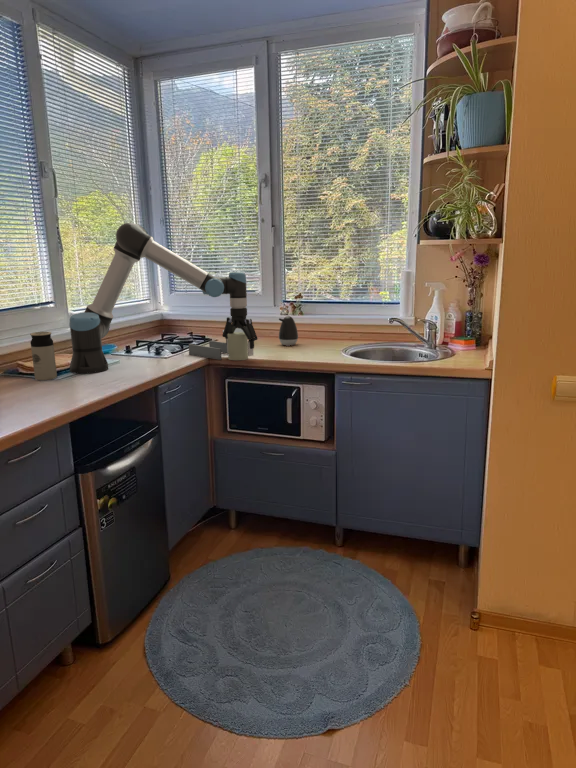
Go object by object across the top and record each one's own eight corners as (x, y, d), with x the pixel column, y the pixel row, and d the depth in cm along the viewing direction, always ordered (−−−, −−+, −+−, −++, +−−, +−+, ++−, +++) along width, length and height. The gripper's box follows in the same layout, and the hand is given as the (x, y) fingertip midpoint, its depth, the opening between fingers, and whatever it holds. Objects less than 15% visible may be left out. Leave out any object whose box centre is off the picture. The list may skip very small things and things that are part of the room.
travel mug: (50, 375, 217) (45, 330, 212) (61, 378, 212) (55, 332, 207) (31, 378, 211) (25, 333, 206) (41, 381, 206) (35, 335, 202)
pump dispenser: (275, 344, 285) (274, 315, 281) (293, 342, 289) (292, 314, 286) (283, 347, 276) (282, 317, 272) (301, 345, 280) (301, 316, 277)
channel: (220, 359, 245) (219, 349, 243) (189, 354, 259) (188, 344, 257) (242, 355, 255) (241, 345, 254) (211, 350, 269) (210, 340, 268)
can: (239, 361, 241) (238, 334, 238) (224, 359, 246) (223, 333, 244) (252, 357, 249) (251, 332, 246) (237, 356, 254) (236, 330, 251)
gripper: (264, 308, 235) (265, 355, 240) (225, 305, 251) (227, 350, 256) (252, 309, 230) (254, 358, 235) (213, 306, 246) (215, 352, 251)
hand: (240, 354), depth 245 cm, fingers open, 13 cm apart
